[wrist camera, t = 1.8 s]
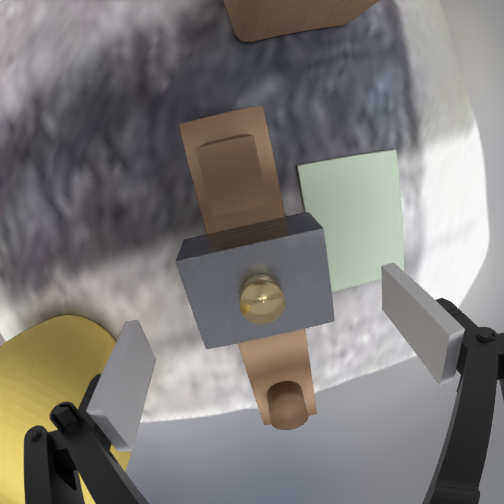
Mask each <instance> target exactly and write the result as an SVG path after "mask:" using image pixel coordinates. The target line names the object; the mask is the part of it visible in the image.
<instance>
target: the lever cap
mask: <svg viewBox="0 0 504 504" xmlns="http://www.w3.org/2000/svg"><path fill="white" fill-rule="evenodd" d="M176 264H177V267H178V270H179V273H180V276H181V279H182V282H183V285H184V288H185V291H186V294H187V297H188V300H189V303H190V306H191V309H192V311H193V314H194V317H195V320H196V323H197V326H198V328H199V331H200V334H201V337H202V339H203V342H204V345H205V347H206V349H210V348H215V347H221V346H226V345H231V344H236V343H241V342H246V341H251V340H256V339H261V338H265V337H270V336H275V335H279V334H283V333H288V332H292V331H296V330H301V329H305V328H309V327H313V326H317V325H321V324H325V323H329V322H333V321H335V320H334V310H333V300H332V291H331V282H330V273H329V265H328V257H327V249H326V242H325V234H324V228H323V227H322V226H321V225H320V224H319V223H318V222H317V220H316V219H315V218H314V217H313V216H312V215H311V214H310V213H309V212H305V213H300V214H296V215H291V216H286V217H282V218H277V219H272V220H268V221H263V222H259V223H254V224H250V225H245V226H241V227H237V228H232V229H228V230H223V231H219V232H215V233H210V234H206V235H202V236H197V237H193V238H189V239H185V240H184V241H183V243H182V246H181V249H180V251H179V254H178V256H177V259H176Z"/></svg>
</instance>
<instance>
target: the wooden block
mask: <svg viewBox="0 0 504 504" xmlns="http://www.w3.org/2000/svg"><path fill="white" fill-rule="evenodd" d="M378 1H380V0H223V2H224V5H225V8H226V10H227V13H228V16H229V19H230V21H231V24H232V27H233V30H234V33H235V35H236V36H237V37H238V38H239V39H240V40H241V41H245V42H254V41H258V40H262V39H267V38H271V37H276V36H281V35H285V34H291V33H296V32H301V31H307V30H313V29H320V28H327V27H334V26H342V25H346V24H348V23H350V22H352V21H353V20H354V19H355V18H357V17H358V16H359V15H361V14H362V13H363V12H365V11H366V10H367V9H369V8H370V7H371V6H373V5H374V4H375V3H377V2H378Z"/></svg>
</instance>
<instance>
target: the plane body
mask: <svg viewBox="0 0 504 504" xmlns="http://www.w3.org/2000/svg"><path fill="white" fill-rule="evenodd" d="M179 127H180V131H181V136H182V140H183V144H184V148H185V152H186V156H187V160H188V164H189V168H190V172H191V176H192V180H193V184H194V188H195V192H196V196H197V199H198V203H199V207H200V211H201V215H202V218H203V222H204V226H205V230H206V233H207V234H210V233H215V232H219V231H223V230H228V229H232V228H237V227H241V226H245V225H250V224H254V223H259V222H263V221H268V220H272V219H277V218H282V217H285V212H284V207H283V202H282V197H281V191H280V186H279V181H278V176H277V171H276V166H275V161H274V156H273V152H272V147H271V142H270V137H269V133H268V128H267V123H266V119H265V114H264V109H263V105H261V106H255V107H250V108H245V109H241V110H236V111H231V112H227V113H222V114H218V115H214V116H209V117H205V118H201V119H197V120H193V121H190V122H186V123H182V124H179ZM238 345H239V348H240V351H241V354H242V358H243V361H244V364H245V367H246V371H247V374H248V377H249V380H250V383H251V386H252V390H253V393H254V396H255V399H256V402H257V405H258V408H259V411H260V414H261V417H262V420H263V423H264V425H268V424H272V426H273V427H275V428H277V429H281V430H290V429H295V428H298V427H300V426H301V425H303V424H304V423H305V422H306V421H307V419H308V416H310V415H314V414H316V413H317V412H316V405H315V397H314V390H313V382H312V375H311V368H310V361H309V355H308V348H307V341H306V335H305V329H301V330H296V331H292V332H288V333H283V334H279V335H275V336H270V337H265V338H261V339H256V340H251V341H246V342H241V343H238Z"/></svg>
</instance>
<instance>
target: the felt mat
mask: <svg viewBox="0 0 504 504" xmlns="http://www.w3.org/2000/svg"><path fill="white" fill-rule="evenodd" d="M296 166H297V172H298V177H299V182H300V188H301V194H302V199H303V205H304V211H305V212H309V213H310V214H311V215H312V216H313V217H314V218H315V219H316V220H317V222H318V223H319V224H320V225H321V226H322V227H323V228H324V234H325V242H326V249H327V257H328V265H329V273H330V282H331V291H332V292H334V291H338V290H341V289H345V288H349V287H353V286H357V285H361V284H365V283H368V282H372V281H376V280H380V279H382V275H381V266H383V265H386V264H390V263H395V264H396V265H397V266H398V267H399V268H400V269H402V270H403V271H404V256H403V226H402V208H401V194H400V183H399V173H398V163H397V155H396V150H394V149H392V150H385V151H378V152H371V153H364V154H358V155H351V156H345V157H339V158H333V159H328V160H322V161H316V162H311V163H306V164H300V165H296Z"/></svg>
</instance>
